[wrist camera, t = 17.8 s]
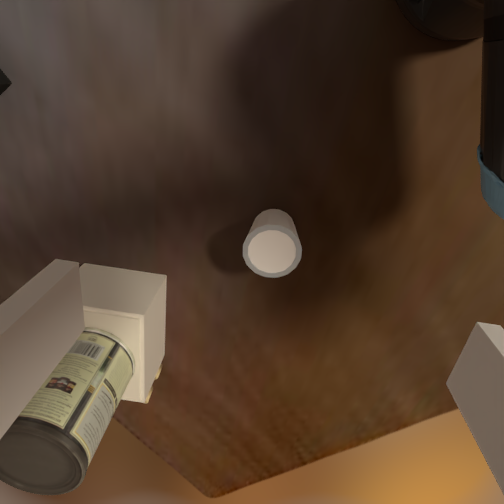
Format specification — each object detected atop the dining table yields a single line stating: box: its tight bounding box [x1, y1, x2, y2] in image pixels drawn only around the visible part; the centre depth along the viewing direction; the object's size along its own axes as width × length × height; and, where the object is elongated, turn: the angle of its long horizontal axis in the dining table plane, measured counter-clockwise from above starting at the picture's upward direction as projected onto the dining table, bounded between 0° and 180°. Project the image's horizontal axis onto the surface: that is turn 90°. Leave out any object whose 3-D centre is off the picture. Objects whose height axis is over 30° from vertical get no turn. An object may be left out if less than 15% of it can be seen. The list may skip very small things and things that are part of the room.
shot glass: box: [243, 209, 302, 278], centre depth 45 cm, size 7×7×7 cm
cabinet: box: [79, 263, 167, 404], centre depth 52 cm, size 12×17×10 cm
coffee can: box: [0, 327, 136, 495], centre depth 41 cm, size 10×10×14 cm
